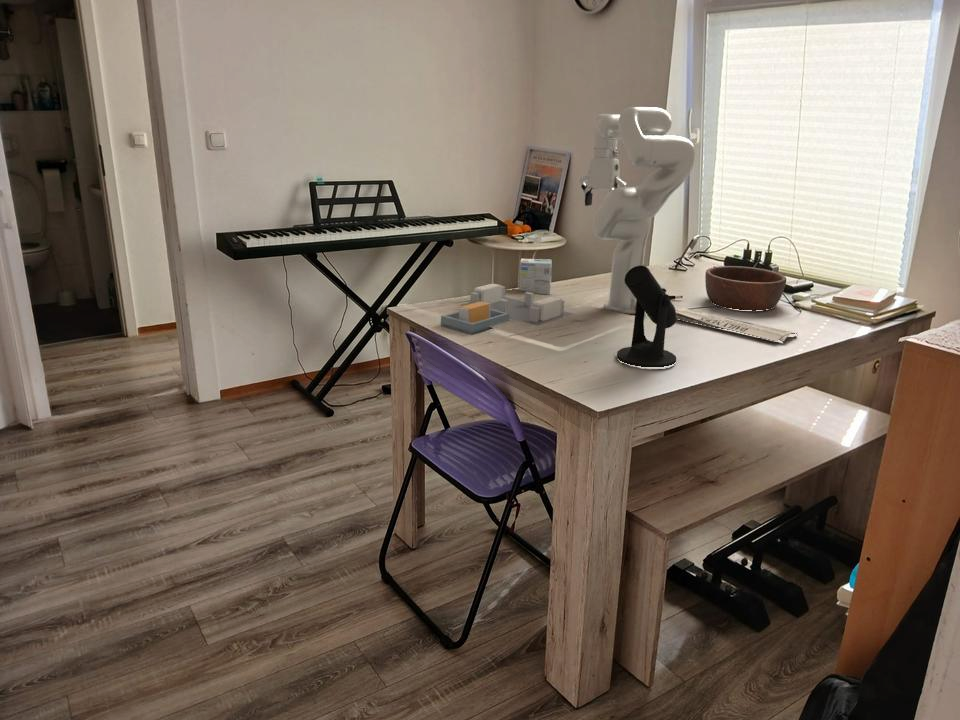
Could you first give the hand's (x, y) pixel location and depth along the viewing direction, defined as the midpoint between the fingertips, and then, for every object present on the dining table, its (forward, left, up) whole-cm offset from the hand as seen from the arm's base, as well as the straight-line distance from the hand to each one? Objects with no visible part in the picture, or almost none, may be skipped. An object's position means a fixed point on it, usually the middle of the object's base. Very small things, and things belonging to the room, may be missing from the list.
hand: (600, 207), depth 256 cm
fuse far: (+12, +42, -27) cm, 52 cm away
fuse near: (-11, +42, -27) cm, 51 cm away
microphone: (-50, +53, -29) cm, 78 cm away
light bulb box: (+13, +17, -29) cm, 36 cm away
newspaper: (-53, +10, -29) cm, 61 cm away
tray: (+1, +61, -28) cm, 67 cm away
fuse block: (+1, +42, -28) cm, 51 cm away
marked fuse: (+1, +61, -28) cm, 67 cm away
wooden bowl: (-44, -20, -29) cm, 56 cm away
